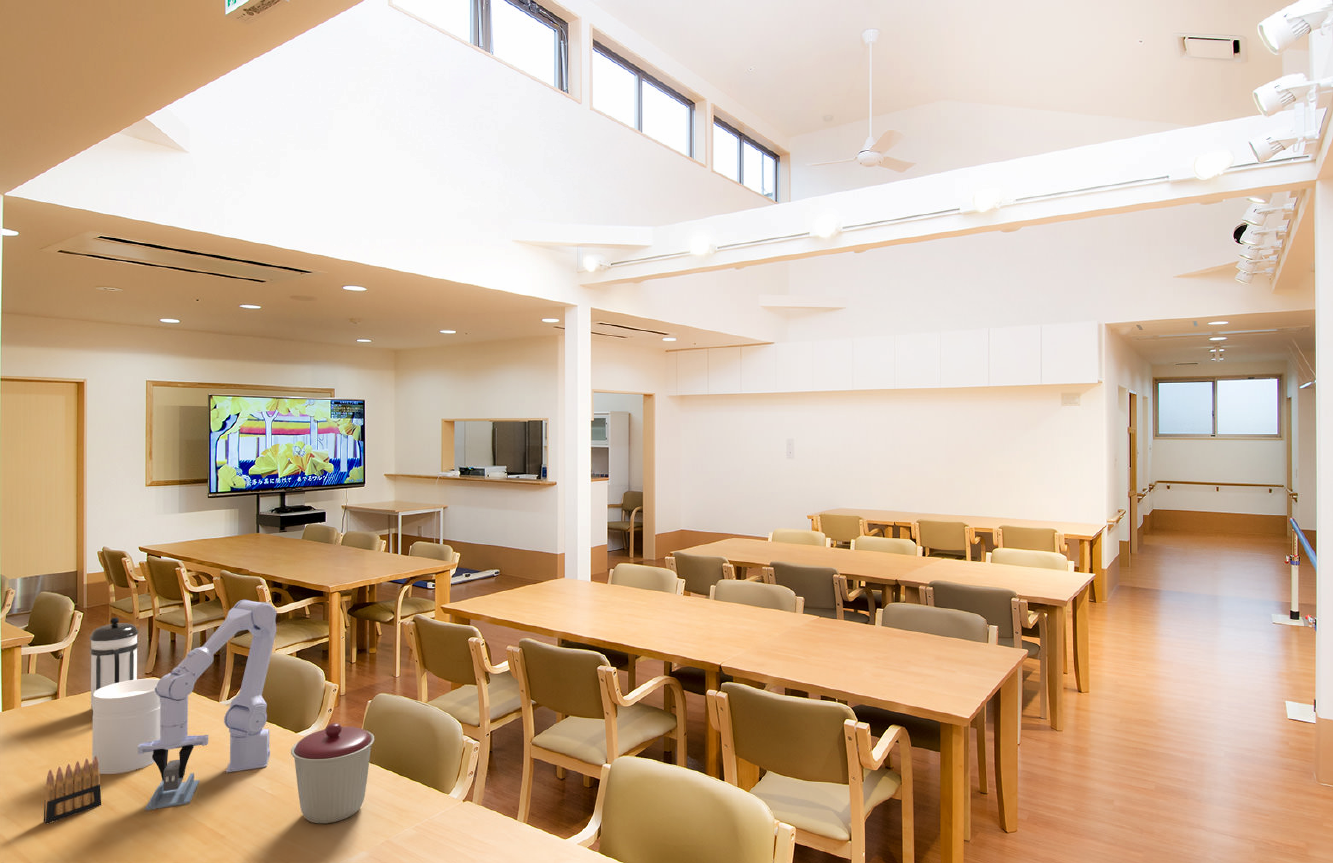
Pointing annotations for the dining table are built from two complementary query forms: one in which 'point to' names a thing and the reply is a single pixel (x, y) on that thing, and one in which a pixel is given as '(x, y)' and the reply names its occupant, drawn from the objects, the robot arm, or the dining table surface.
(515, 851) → the dining table surface
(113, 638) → the coffee press
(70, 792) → the ammunition clip
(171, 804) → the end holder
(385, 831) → the dining table surface
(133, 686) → the canister
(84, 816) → the dining table surface
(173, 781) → the charcoal plug
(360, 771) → the canister
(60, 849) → the dining table surface
